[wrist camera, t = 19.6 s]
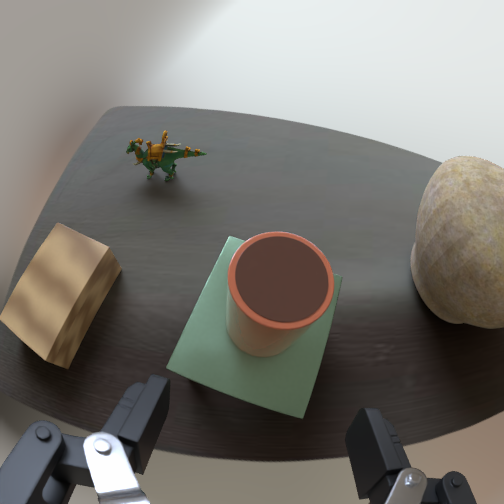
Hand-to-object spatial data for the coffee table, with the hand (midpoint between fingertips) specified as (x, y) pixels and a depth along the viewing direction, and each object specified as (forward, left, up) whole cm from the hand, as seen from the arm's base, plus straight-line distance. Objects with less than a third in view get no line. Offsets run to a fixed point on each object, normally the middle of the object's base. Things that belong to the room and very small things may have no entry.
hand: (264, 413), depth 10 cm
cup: (+7, +1, -10) cm, 12 cm away
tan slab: (+2, +23, -18) cm, 29 cm away
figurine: (+25, +21, -18) cm, 37 cm away
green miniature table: (+7, +1, -18) cm, 19 cm away
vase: (+24, -23, -18) cm, 38 cm away
